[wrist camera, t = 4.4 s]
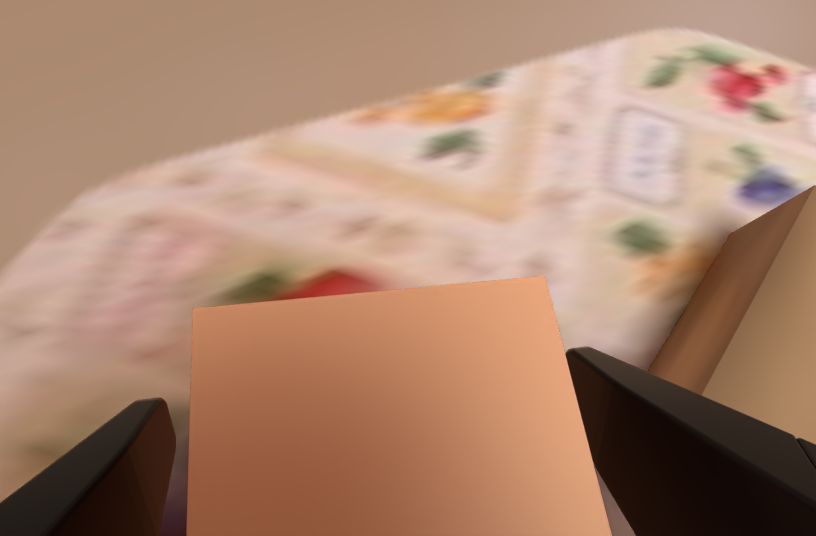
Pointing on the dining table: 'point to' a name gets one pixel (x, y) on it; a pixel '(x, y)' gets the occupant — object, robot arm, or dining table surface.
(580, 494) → the terracotta block
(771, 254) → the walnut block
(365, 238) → the dining table surface
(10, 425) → the dining table surface
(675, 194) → the dining table surface
